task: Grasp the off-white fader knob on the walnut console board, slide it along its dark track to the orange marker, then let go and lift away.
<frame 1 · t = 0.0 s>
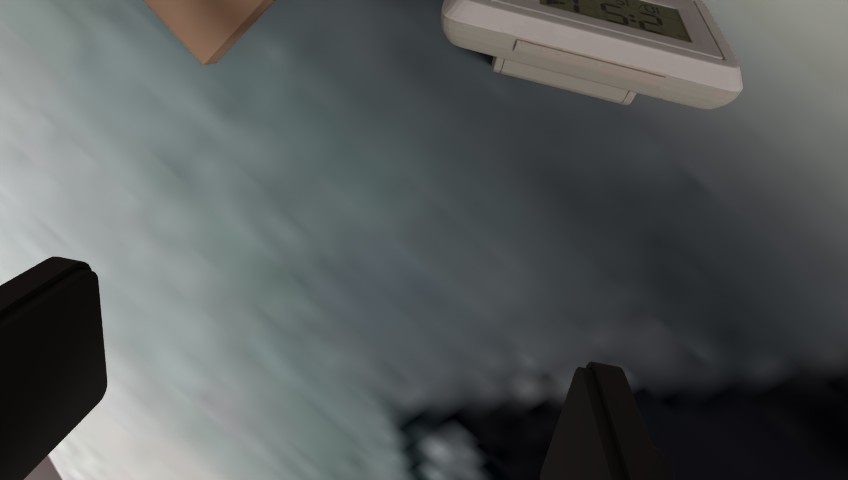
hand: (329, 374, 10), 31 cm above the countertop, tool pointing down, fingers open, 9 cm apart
digital clock: (571, 18, 36), on the countertop
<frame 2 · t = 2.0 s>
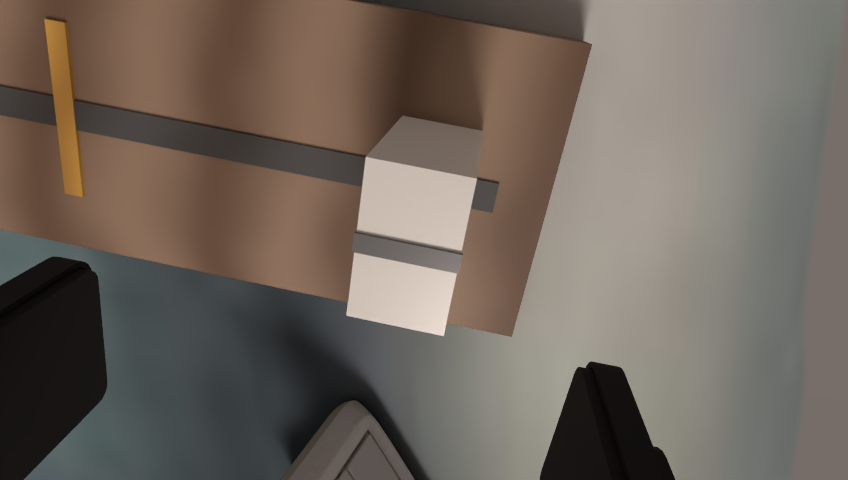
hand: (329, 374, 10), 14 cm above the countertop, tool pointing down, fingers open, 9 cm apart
fader knob: (420, 215, 18), point 5 cm above the countertop, slide at -8.0 cm
console board: (255, 135, 23), on the countertop
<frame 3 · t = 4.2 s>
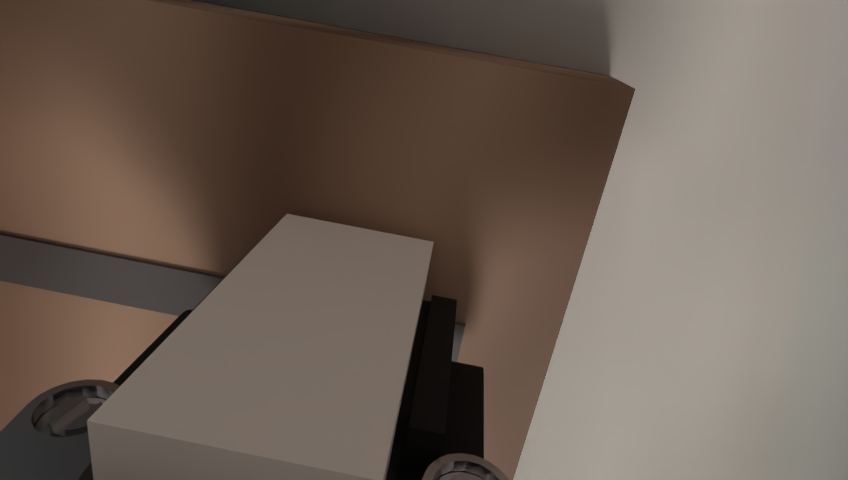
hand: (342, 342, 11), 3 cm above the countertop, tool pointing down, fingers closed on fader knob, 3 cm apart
fader knob: (304, 431, 9), point 5 cm above the countertop, slide at -8.0 cm, touching gripper
console board: (68, 225, 14), on the countertop
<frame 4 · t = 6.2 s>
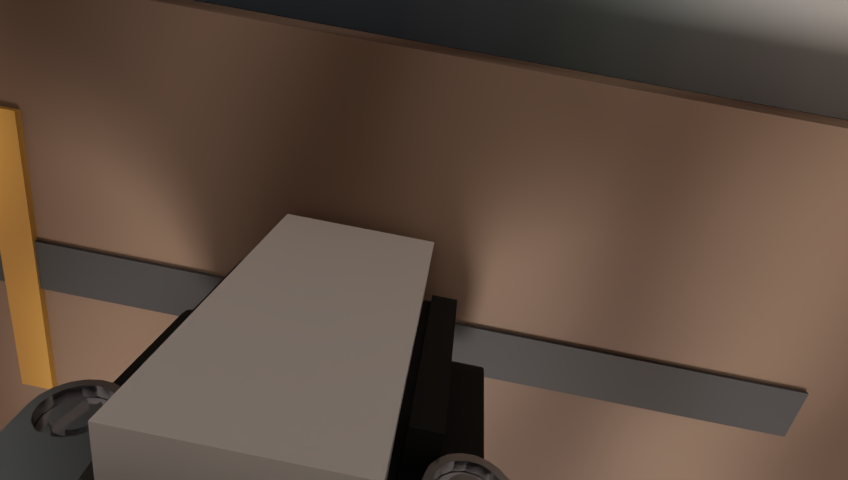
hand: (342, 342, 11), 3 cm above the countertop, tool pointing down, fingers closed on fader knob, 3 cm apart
fader knob: (305, 431, 9), point 5 cm above the countertop, slide at -0.6 cm, touching gripper
console board: (345, 279, 14), on the countertop
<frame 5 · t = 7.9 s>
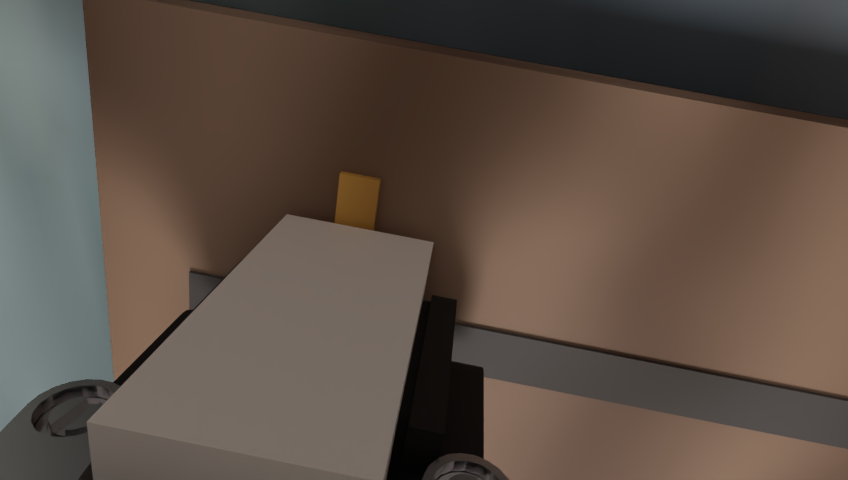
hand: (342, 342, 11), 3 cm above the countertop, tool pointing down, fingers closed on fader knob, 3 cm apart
fader knob: (304, 431, 9), point 5 cm above the countertop, slide at 6.8 cm, touching gripper
console board: (631, 335, 14), on the countertop
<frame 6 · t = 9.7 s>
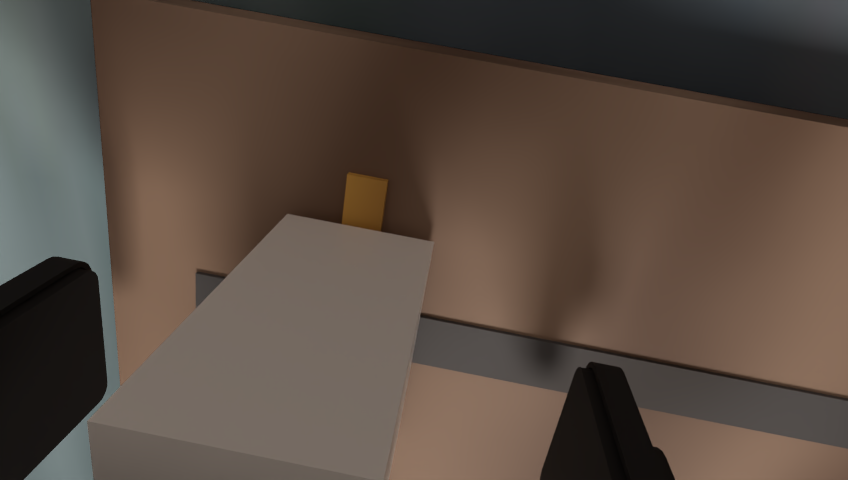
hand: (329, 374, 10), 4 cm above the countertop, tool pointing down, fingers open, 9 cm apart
fader knob: (305, 431, 9), point 5 cm above the countertop, slide at 7.0 cm
console board: (637, 336, 14), on the countertop
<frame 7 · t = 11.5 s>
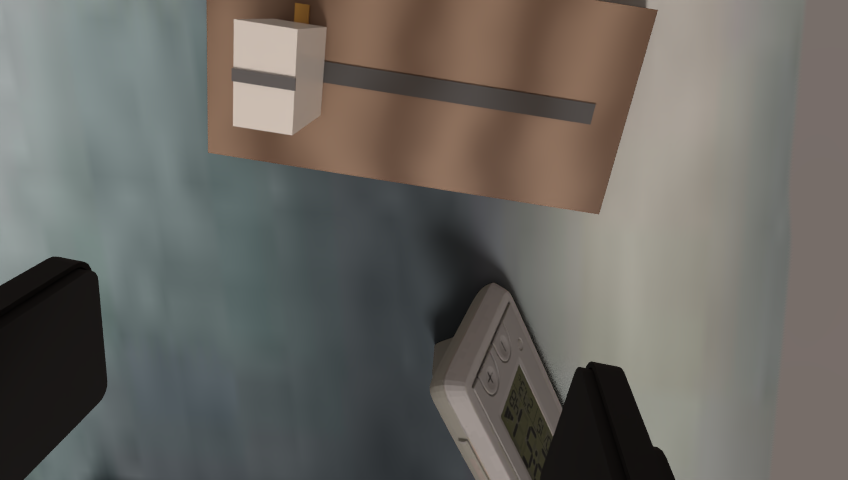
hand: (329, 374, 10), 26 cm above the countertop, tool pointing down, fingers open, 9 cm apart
fader knob: (282, 73, 29), point 5 cm above the countertop, slide at 7.0 cm
console board: (419, 82, 34), on the countertop
digital clock: (506, 369, 42), on the countertop
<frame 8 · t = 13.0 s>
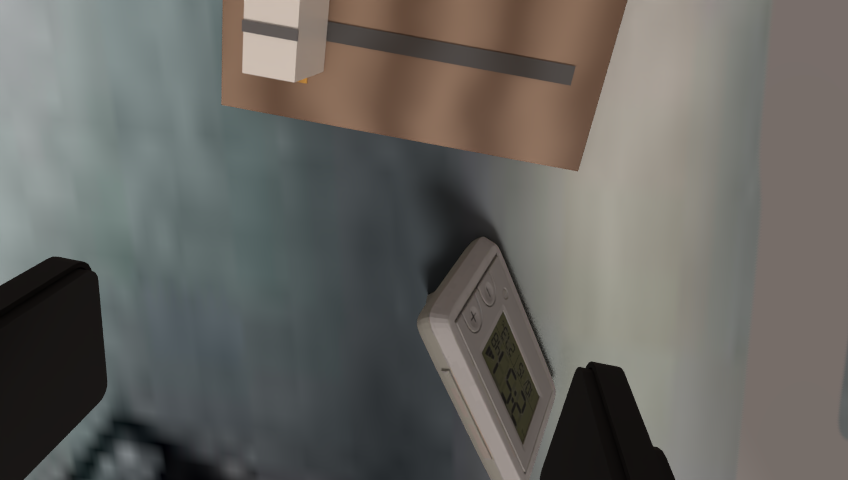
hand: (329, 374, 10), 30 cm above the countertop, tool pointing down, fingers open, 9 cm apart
fader knob: (288, 28, 32), point 5 cm above the countertop, slide at 7.0 cm
console board: (415, 44, 37), on the countertop
digital clock: (494, 321, 45), on the countertop
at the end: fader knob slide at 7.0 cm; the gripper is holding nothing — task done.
